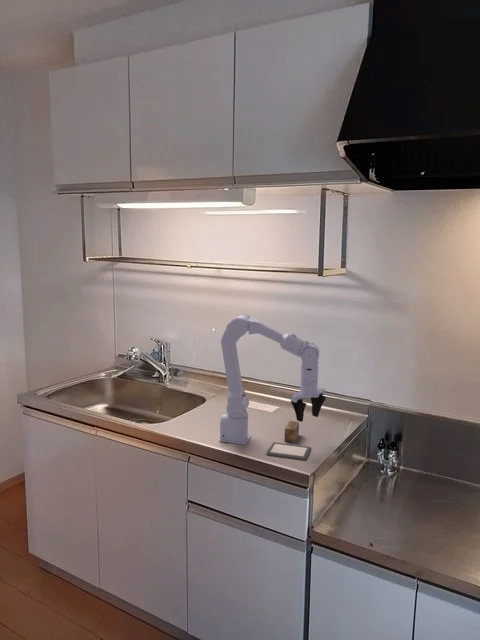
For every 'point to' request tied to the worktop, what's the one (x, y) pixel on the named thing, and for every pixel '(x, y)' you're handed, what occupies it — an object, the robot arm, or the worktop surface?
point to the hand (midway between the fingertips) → (307, 418)
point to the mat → (288, 451)
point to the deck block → (291, 431)
